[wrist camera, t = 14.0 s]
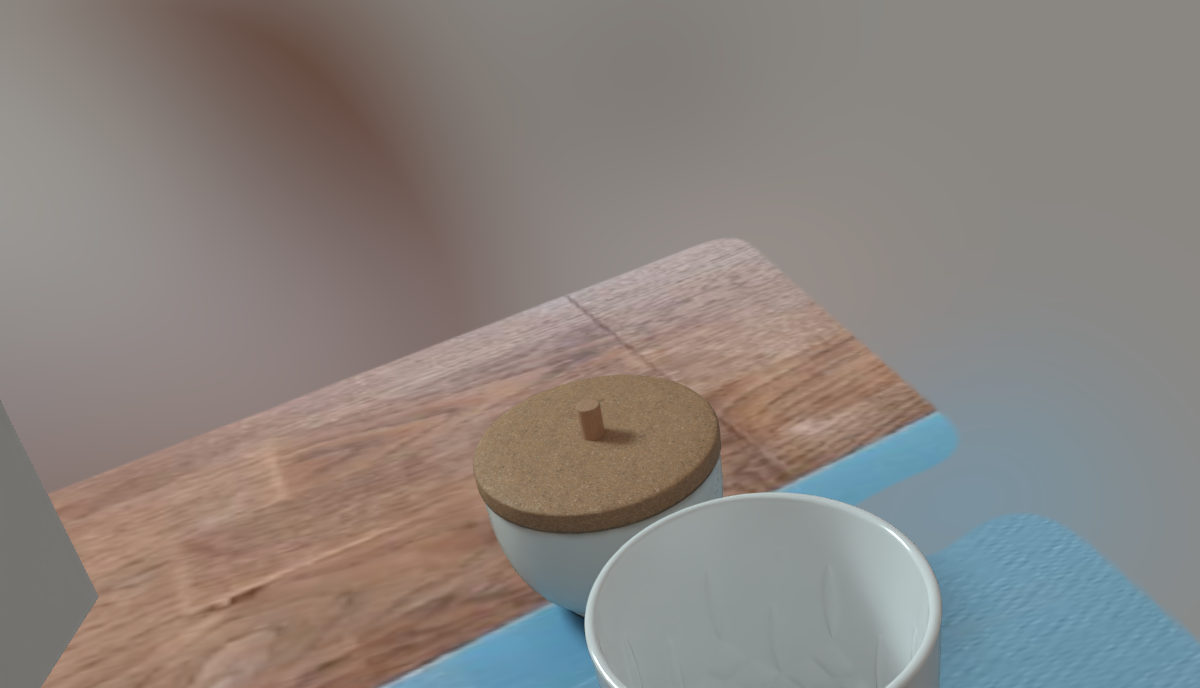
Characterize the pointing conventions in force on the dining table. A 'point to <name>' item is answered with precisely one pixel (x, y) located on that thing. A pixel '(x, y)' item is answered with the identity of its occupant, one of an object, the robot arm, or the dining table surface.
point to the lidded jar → (593, 475)
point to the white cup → (766, 600)
